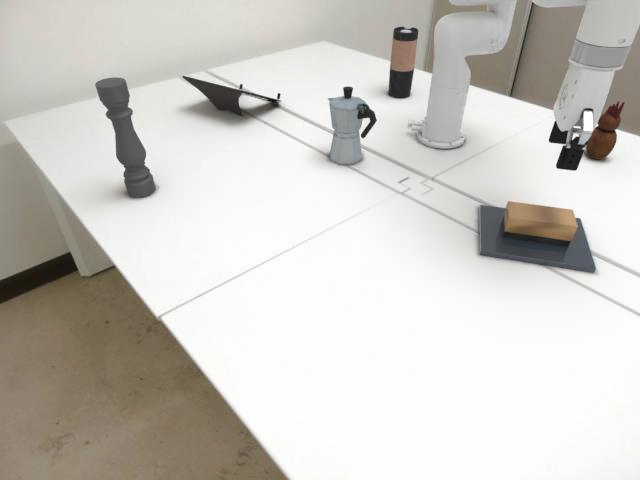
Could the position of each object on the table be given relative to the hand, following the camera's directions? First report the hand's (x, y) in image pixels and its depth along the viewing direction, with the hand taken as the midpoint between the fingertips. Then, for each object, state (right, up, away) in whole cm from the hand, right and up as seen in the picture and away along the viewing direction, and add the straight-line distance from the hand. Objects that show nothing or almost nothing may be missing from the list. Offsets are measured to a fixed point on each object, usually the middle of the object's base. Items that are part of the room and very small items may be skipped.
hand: (561, 155), depth 79 cm
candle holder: (-83, -4, +26) cm, 87 cm away
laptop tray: (-67, +27, +64) cm, 96 cm away
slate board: (0, -14, +11) cm, 18 cm away
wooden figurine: (+29, +7, +38) cm, 48 cm away
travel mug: (-16, +33, +71) cm, 80 cm away
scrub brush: (0, -14, +11) cm, 17 cm away
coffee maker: (-35, +6, +37) cm, 51 cm away
